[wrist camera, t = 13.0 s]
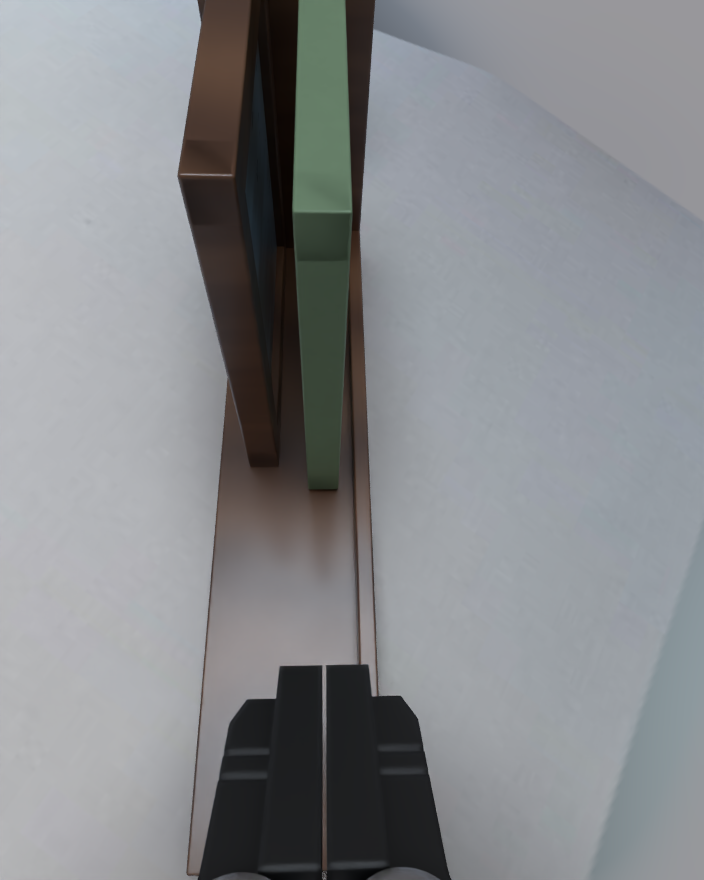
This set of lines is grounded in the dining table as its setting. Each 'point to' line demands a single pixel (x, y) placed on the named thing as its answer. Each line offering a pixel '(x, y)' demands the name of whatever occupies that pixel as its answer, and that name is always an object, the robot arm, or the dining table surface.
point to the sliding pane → (322, 228)
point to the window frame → (272, 384)
